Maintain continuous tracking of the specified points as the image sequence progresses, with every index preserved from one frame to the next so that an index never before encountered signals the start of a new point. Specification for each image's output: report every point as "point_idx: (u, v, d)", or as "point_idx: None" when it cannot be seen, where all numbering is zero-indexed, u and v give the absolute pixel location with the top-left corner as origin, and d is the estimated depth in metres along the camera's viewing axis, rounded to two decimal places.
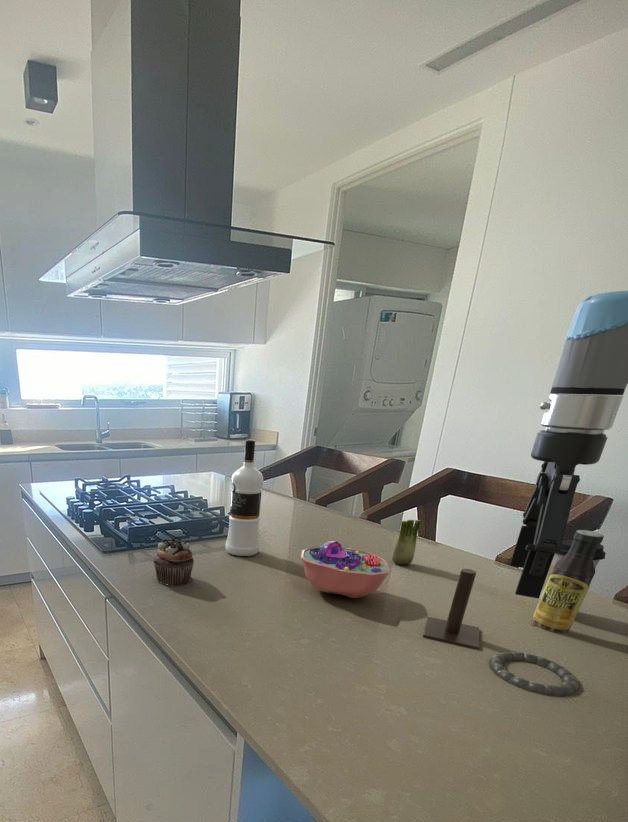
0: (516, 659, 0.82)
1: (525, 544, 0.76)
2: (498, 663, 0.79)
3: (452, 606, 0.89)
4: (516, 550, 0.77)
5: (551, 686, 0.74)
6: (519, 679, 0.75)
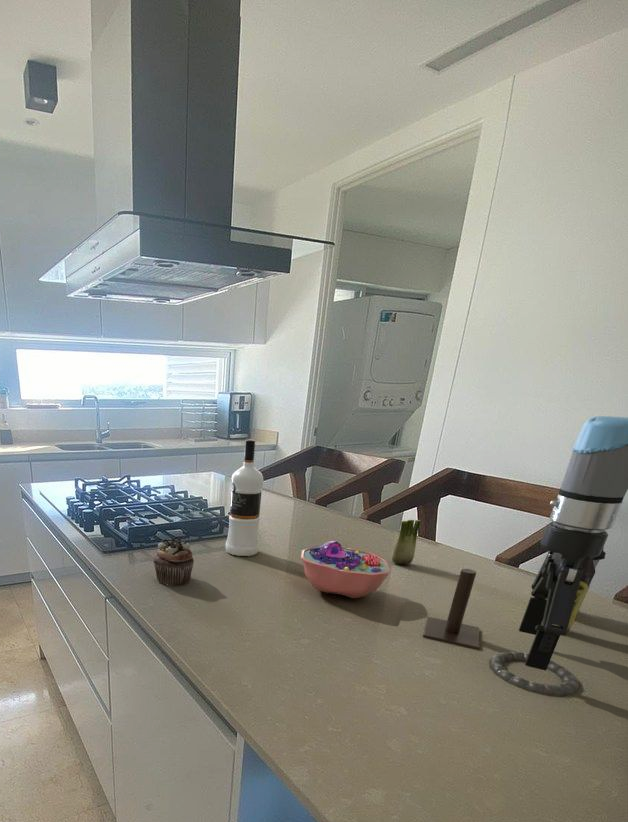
0: (516, 659, 0.82)
1: (533, 613, 0.85)
2: (498, 663, 0.79)
3: (452, 606, 0.89)
4: (525, 618, 0.86)
5: (551, 686, 0.74)
6: (519, 679, 0.75)
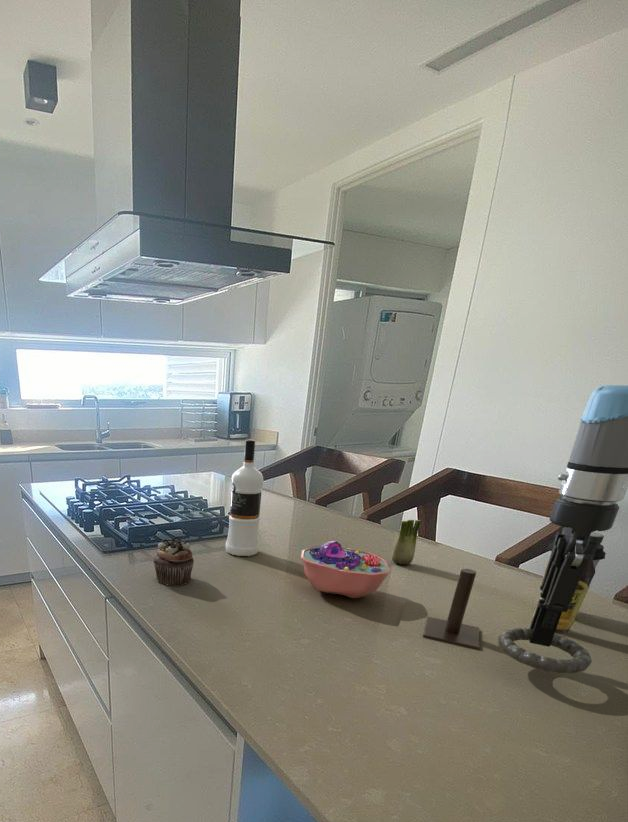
0: (526, 635, 0.80)
1: None
2: (508, 639, 0.78)
3: (452, 606, 0.89)
4: (534, 621, 0.81)
5: (563, 660, 0.72)
6: (530, 654, 0.74)
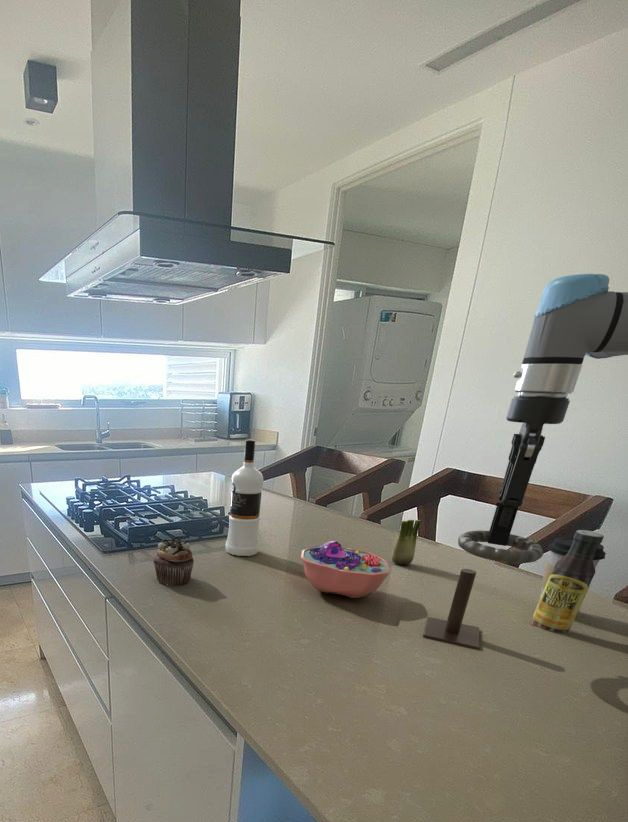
0: (485, 536, 0.84)
1: None
2: (467, 537, 0.81)
3: (452, 606, 0.89)
4: (493, 524, 0.85)
5: (516, 551, 0.75)
6: (486, 546, 0.77)
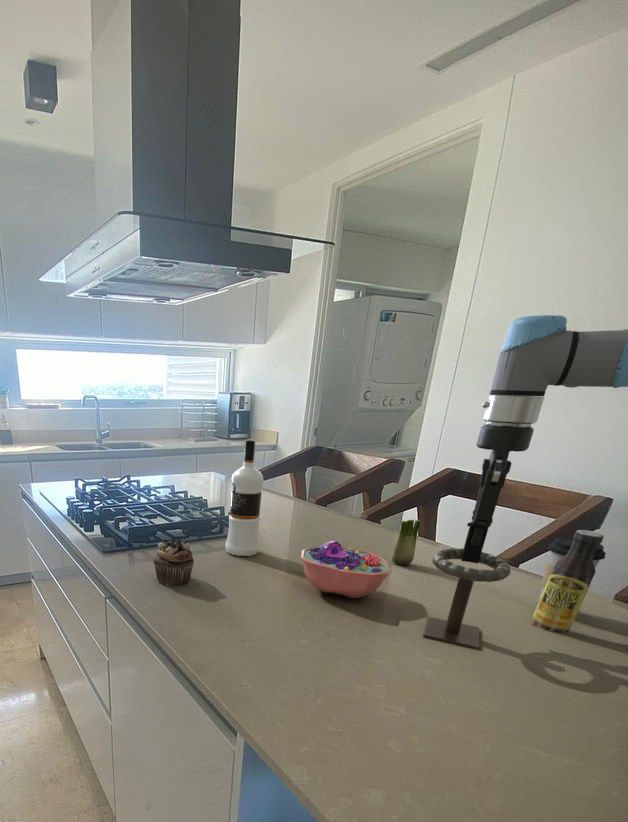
0: (458, 554, 0.89)
1: None
2: (440, 556, 0.86)
3: (452, 606, 0.89)
4: None
5: (484, 570, 0.81)
6: (456, 566, 0.82)
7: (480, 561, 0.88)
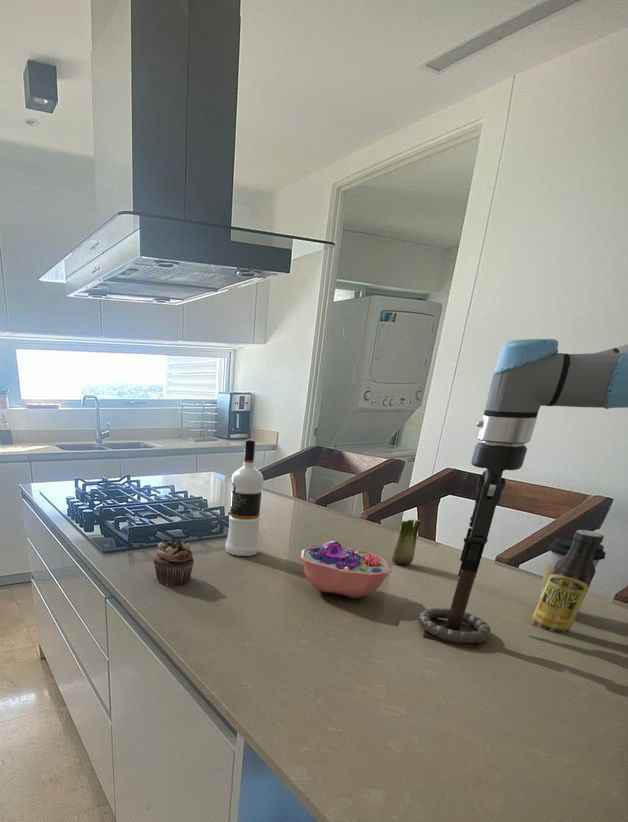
0: (442, 614, 0.95)
1: None
2: (425, 616, 0.92)
3: (452, 606, 0.89)
4: (464, 548, 0.94)
5: (466, 632, 0.86)
6: (440, 627, 0.88)
7: (463, 621, 0.93)
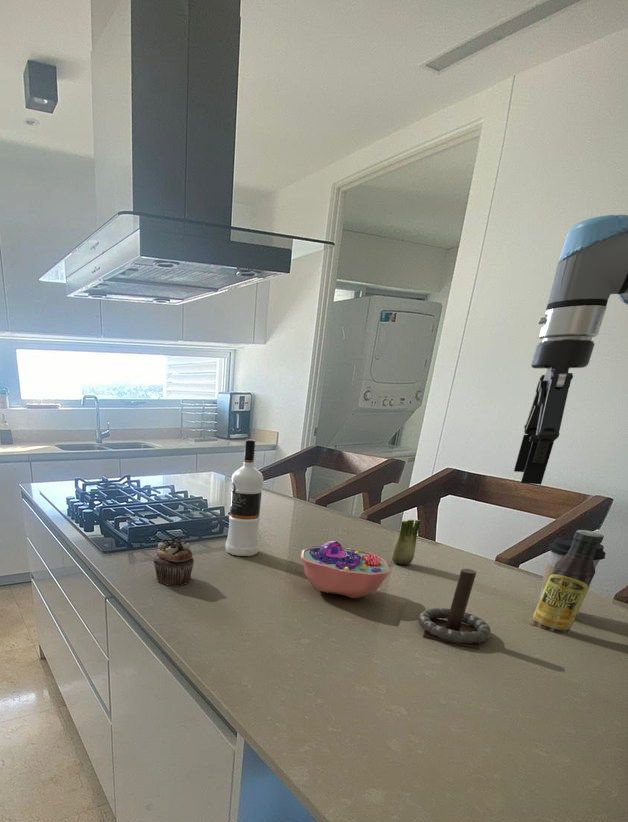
0: (442, 614, 0.95)
1: (527, 450, 0.89)
2: (425, 616, 0.92)
3: (452, 606, 0.89)
4: (519, 457, 0.90)
5: (466, 632, 0.86)
6: (440, 627, 0.88)
7: (463, 621, 0.93)
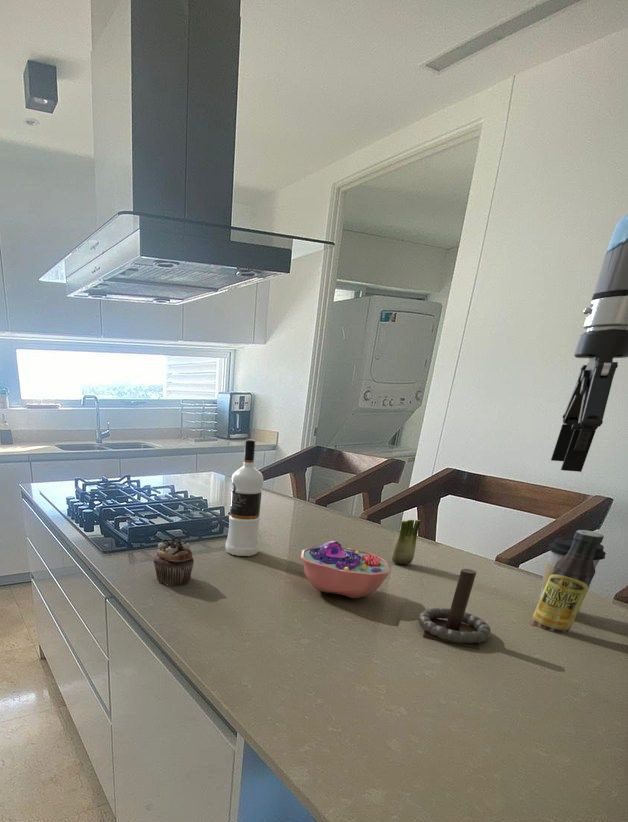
0: (442, 614, 0.95)
1: (565, 439, 0.90)
2: (425, 616, 0.92)
3: (452, 606, 0.89)
4: (557, 446, 0.91)
5: (466, 632, 0.86)
6: (440, 627, 0.88)
7: (463, 621, 0.93)
